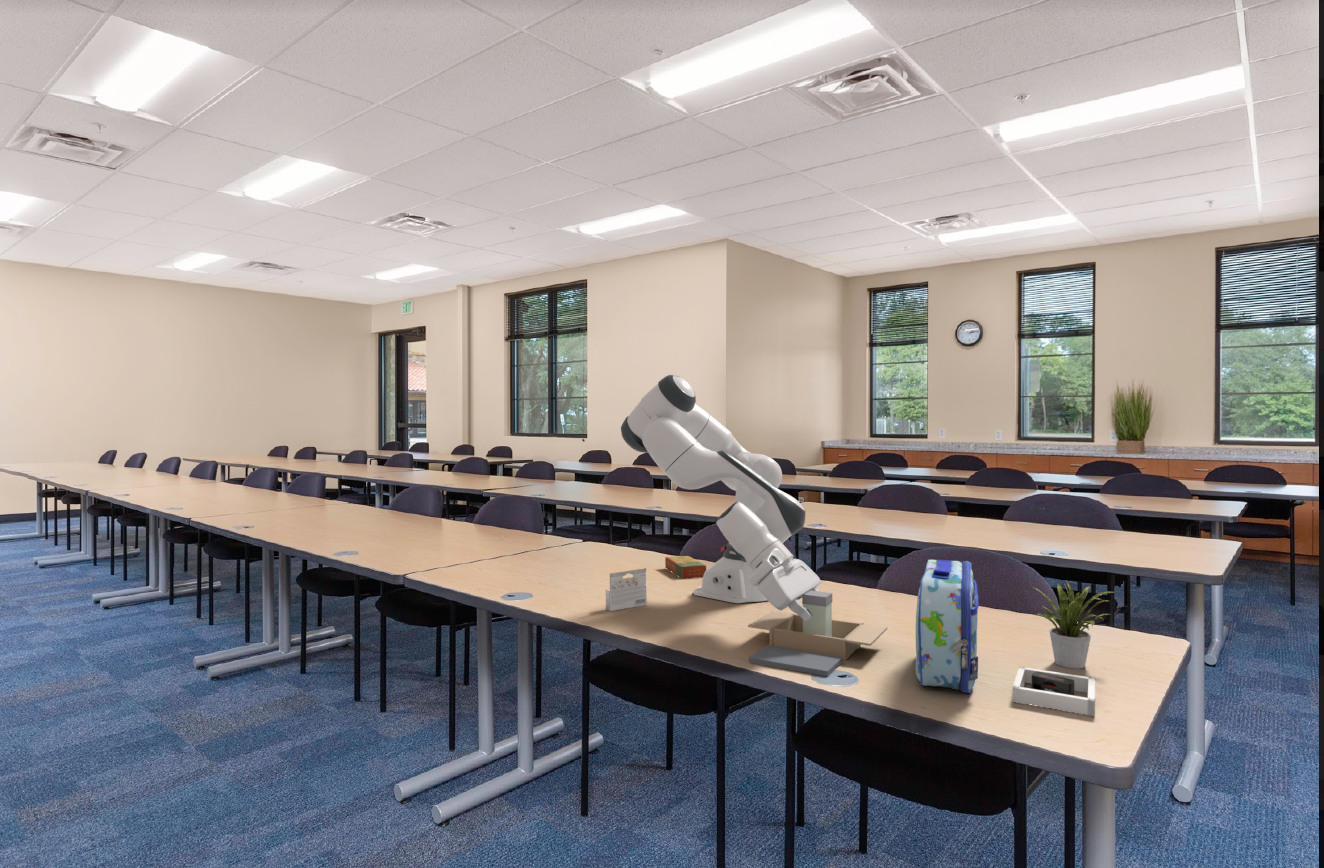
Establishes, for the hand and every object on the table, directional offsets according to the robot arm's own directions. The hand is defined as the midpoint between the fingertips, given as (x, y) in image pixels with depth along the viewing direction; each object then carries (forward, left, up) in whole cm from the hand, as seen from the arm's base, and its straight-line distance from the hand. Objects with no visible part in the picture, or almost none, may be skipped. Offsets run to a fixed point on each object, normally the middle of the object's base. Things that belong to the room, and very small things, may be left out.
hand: (817, 613), depth 155 cm
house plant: (+48, +12, -7) cm, 50 cm away
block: (0, 0, -7) cm, 7 cm away
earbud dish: (+45, -8, -7) cm, 46 cm away
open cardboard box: (0, 0, -7) cm, 7 cm away
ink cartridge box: (-53, +6, -7) cm, 54 cm away
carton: (-60, +50, -7) cm, 79 cm away
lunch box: (+27, -5, -7) cm, 28 cm away
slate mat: (0, -13, -7) cm, 14 cm away
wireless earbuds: (+44, -7, -7) cm, 45 cm away
